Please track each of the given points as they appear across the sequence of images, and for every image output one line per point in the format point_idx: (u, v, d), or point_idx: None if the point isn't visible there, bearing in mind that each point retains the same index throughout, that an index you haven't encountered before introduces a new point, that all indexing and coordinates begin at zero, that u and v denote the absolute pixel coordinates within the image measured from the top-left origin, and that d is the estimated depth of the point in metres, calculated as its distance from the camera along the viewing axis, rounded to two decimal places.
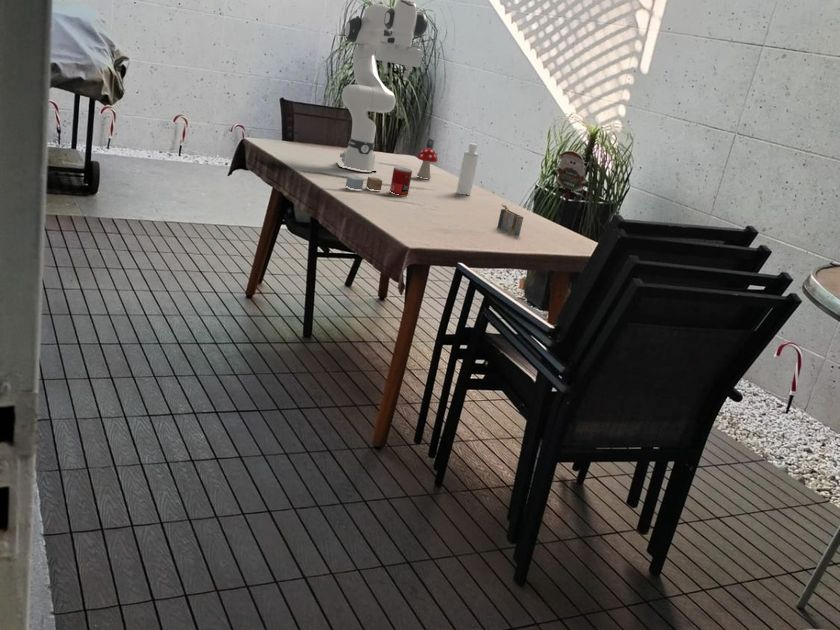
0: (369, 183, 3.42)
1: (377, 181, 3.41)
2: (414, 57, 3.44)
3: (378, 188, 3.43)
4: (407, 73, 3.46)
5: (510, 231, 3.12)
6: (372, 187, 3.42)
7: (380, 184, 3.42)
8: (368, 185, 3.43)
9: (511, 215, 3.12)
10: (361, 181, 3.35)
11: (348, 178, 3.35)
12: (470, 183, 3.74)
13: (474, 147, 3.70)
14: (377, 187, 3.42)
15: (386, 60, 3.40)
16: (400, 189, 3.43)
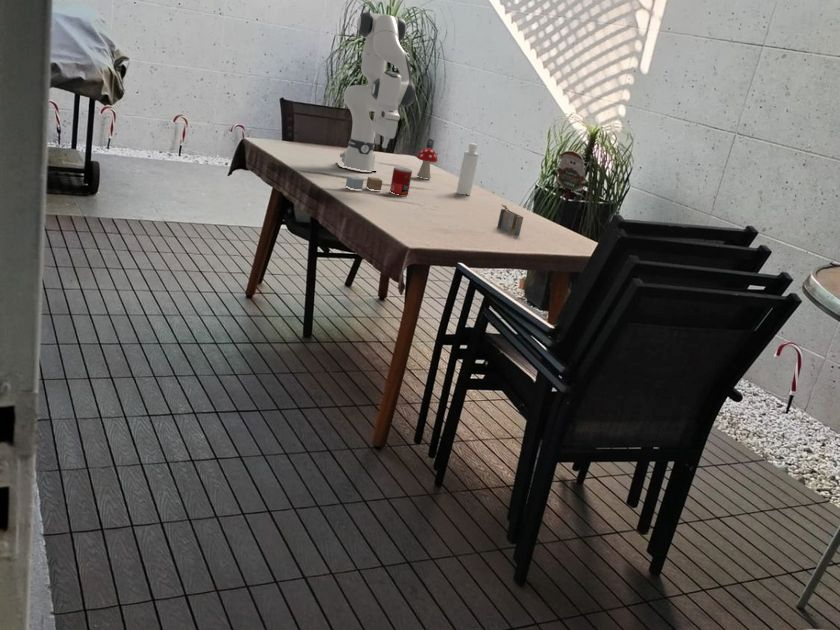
0: (369, 183, 3.42)
1: (377, 181, 3.41)
2: None
3: (378, 188, 3.43)
4: None
5: (510, 231, 3.12)
6: (372, 187, 3.42)
7: (380, 184, 3.42)
8: (368, 185, 3.43)
9: (511, 215, 3.12)
10: (361, 181, 3.35)
11: (348, 178, 3.35)
12: (470, 183, 3.74)
13: (474, 147, 3.70)
14: (377, 187, 3.42)
15: None
16: (400, 189, 3.43)
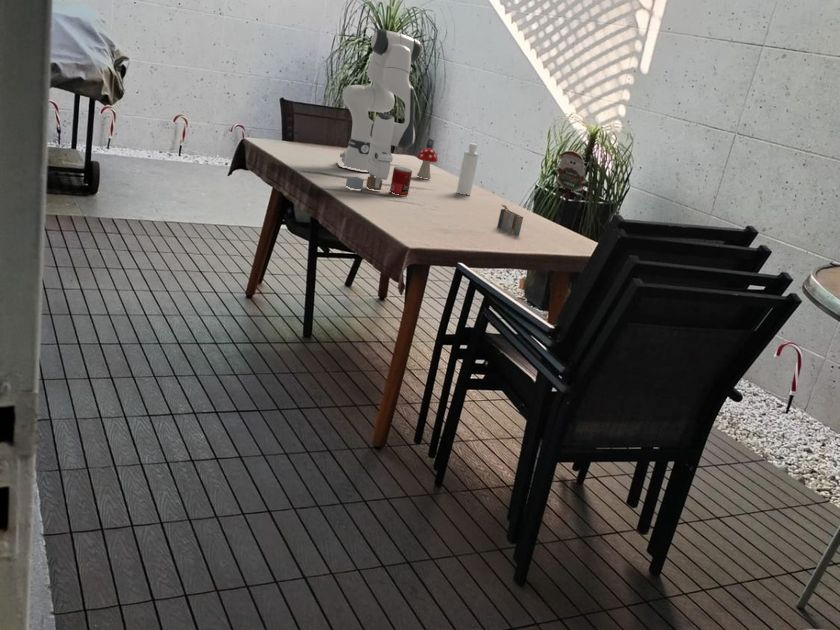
0: (369, 183, 3.42)
1: None
2: None
3: (378, 188, 3.43)
4: None
5: (510, 231, 3.12)
6: (372, 187, 3.42)
7: (380, 184, 3.42)
8: (368, 185, 3.43)
9: (511, 215, 3.12)
10: (361, 181, 3.35)
11: (348, 178, 3.35)
12: (470, 183, 3.74)
13: (474, 147, 3.70)
14: None
15: None
16: (400, 189, 3.43)
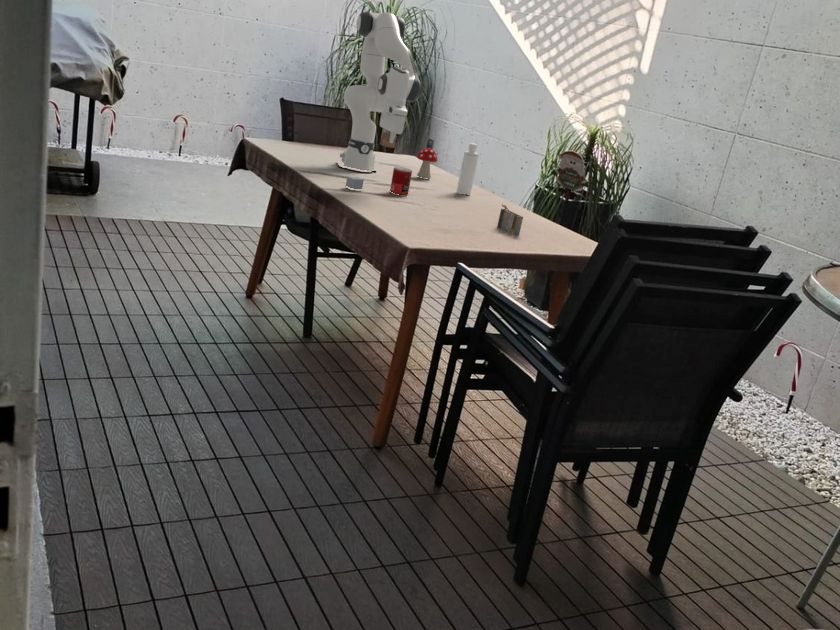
0: (383, 138, 3.37)
1: None
2: None
3: (392, 143, 3.37)
4: None
5: (510, 231, 3.12)
6: (386, 142, 3.36)
7: (394, 139, 3.37)
8: (382, 140, 3.38)
9: (511, 215, 3.12)
10: (361, 181, 3.35)
11: (348, 178, 3.35)
12: (470, 183, 3.74)
13: (474, 147, 3.70)
14: None
15: None
16: (400, 189, 3.43)
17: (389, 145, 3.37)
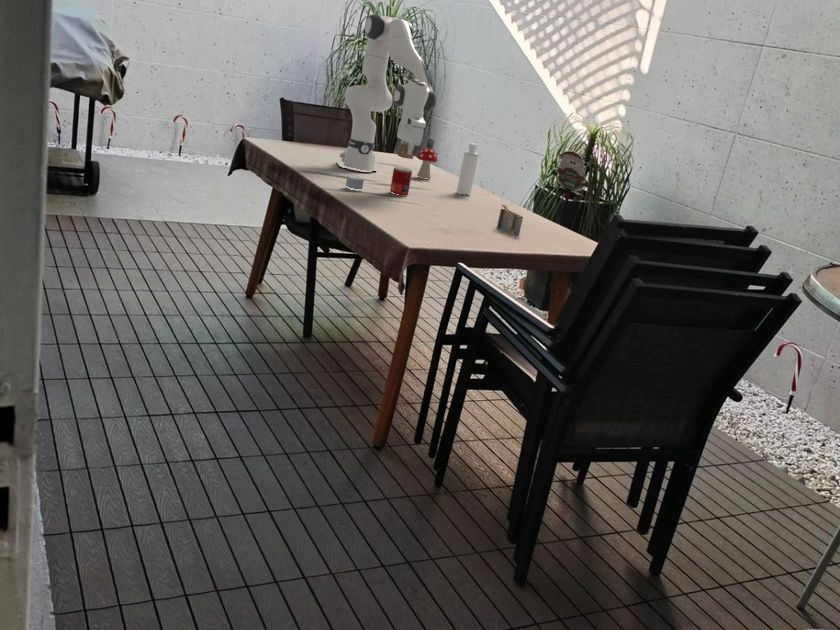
0: (401, 150, 3.40)
1: None
2: None
3: (410, 155, 3.40)
4: None
5: (510, 231, 3.12)
6: (405, 154, 3.39)
7: (412, 151, 3.40)
8: (400, 152, 3.41)
9: (511, 215, 3.12)
10: (361, 181, 3.35)
11: (348, 178, 3.35)
12: (470, 183, 3.74)
13: (474, 147, 3.70)
14: None
15: None
16: (400, 189, 3.43)
17: (407, 156, 3.40)
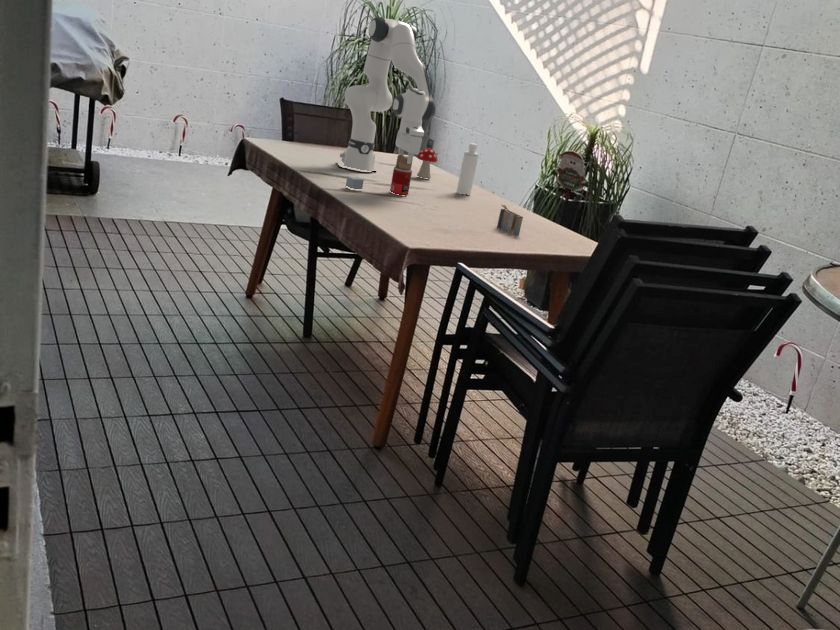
0: (399, 161, 3.41)
1: None
2: None
3: (408, 166, 3.42)
4: None
5: (510, 231, 3.12)
6: (402, 165, 3.41)
7: None
8: (398, 163, 3.42)
9: (511, 215, 3.12)
10: (361, 181, 3.35)
11: (348, 178, 3.35)
12: (470, 183, 3.74)
13: (474, 147, 3.70)
14: (407, 165, 3.41)
15: None
16: (399, 190, 3.43)
17: (405, 168, 3.42)
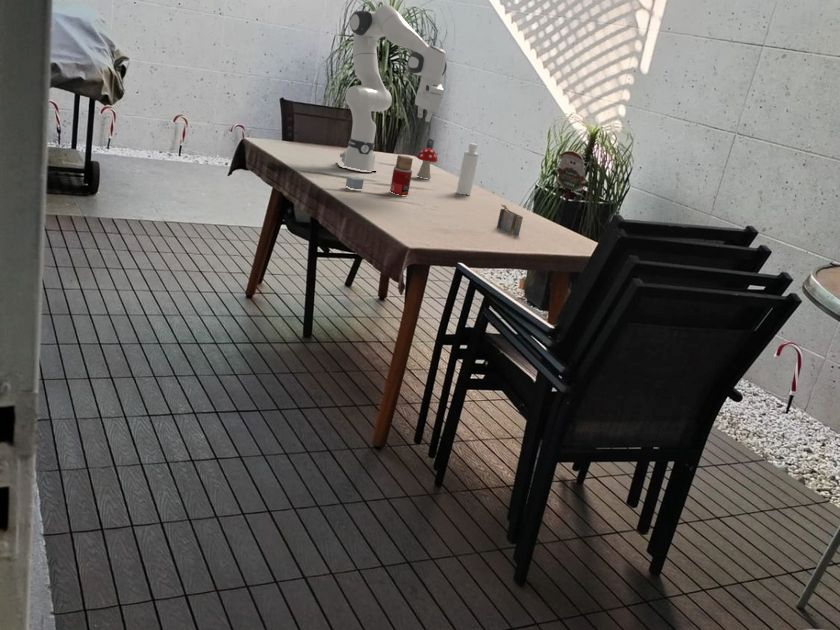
0: (399, 161, 3.41)
1: (407, 159, 3.41)
2: None
3: (408, 166, 3.42)
4: None
5: (509, 231, 3.12)
6: (402, 165, 3.41)
7: (410, 162, 3.42)
8: (398, 163, 3.42)
9: (510, 215, 3.12)
10: (361, 181, 3.35)
11: (348, 178, 3.35)
12: (470, 183, 3.74)
13: (474, 147, 3.70)
14: (407, 165, 3.41)
15: None
16: (399, 190, 3.43)
17: (405, 168, 3.42)
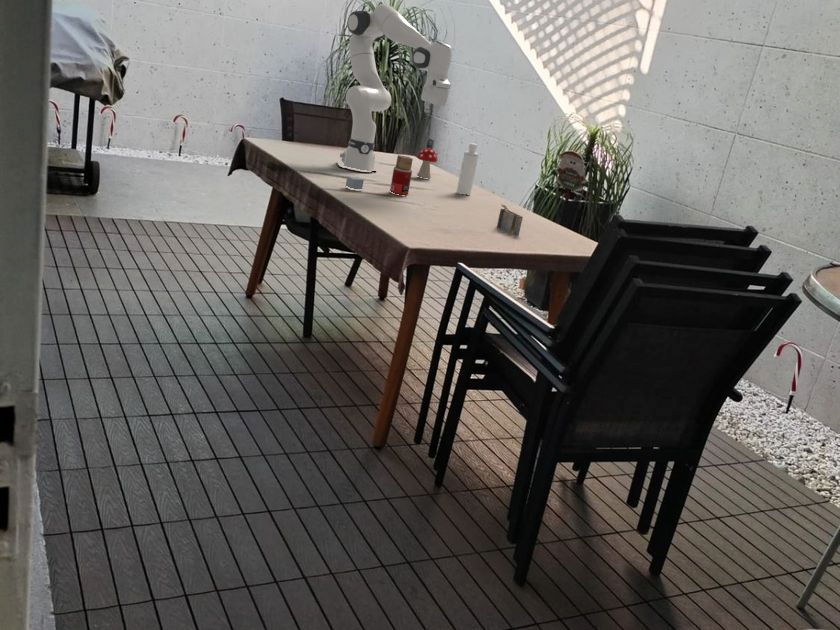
0: (399, 161, 3.41)
1: (407, 159, 3.41)
2: None
3: (408, 166, 3.42)
4: None
5: (509, 231, 3.12)
6: (402, 165, 3.41)
7: (410, 162, 3.42)
8: (398, 163, 3.42)
9: (510, 215, 3.12)
10: (361, 181, 3.35)
11: (348, 178, 3.35)
12: (470, 183, 3.74)
13: (474, 147, 3.70)
14: (407, 165, 3.41)
15: None
16: (399, 190, 3.43)
17: (405, 168, 3.42)
